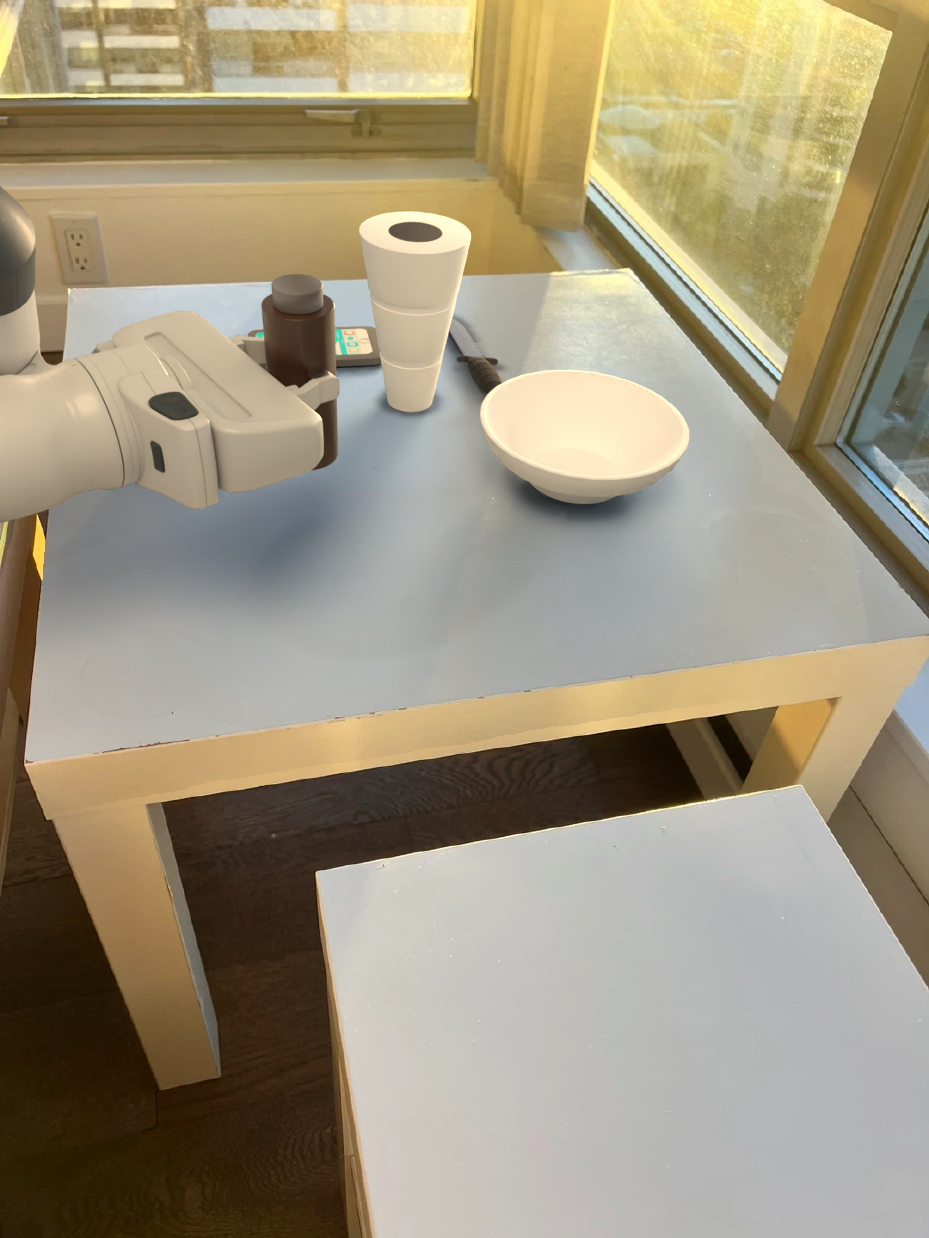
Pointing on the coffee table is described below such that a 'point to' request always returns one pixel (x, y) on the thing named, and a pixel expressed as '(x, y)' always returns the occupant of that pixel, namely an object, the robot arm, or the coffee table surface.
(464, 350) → the knife
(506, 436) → the bowl
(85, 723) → the coffee table surface
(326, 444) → the pepper mill
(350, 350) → the smartphone
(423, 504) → the coffee table surface
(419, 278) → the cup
